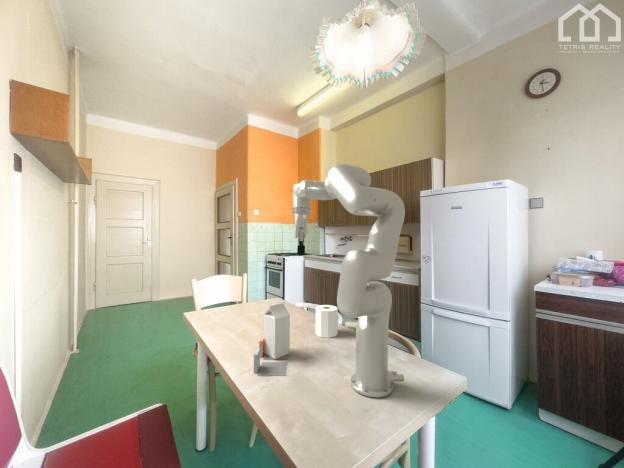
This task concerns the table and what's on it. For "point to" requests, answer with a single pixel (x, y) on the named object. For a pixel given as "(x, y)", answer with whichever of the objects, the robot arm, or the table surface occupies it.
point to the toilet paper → (326, 321)
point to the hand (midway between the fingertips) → (301, 254)
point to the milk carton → (277, 331)
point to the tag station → (268, 363)
